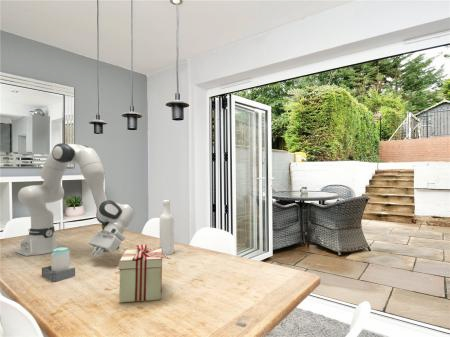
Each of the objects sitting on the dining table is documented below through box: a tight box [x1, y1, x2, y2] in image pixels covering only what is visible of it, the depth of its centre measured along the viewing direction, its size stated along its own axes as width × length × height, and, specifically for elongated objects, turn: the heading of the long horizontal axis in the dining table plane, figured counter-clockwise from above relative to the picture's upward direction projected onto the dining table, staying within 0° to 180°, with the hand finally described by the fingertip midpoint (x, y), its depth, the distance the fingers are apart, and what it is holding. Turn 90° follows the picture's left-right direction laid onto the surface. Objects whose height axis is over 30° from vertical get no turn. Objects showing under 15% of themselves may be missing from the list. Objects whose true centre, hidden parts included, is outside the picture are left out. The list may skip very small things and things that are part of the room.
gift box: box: [118, 243, 171, 303], centre depth 108 cm, size 17×18×17 cm
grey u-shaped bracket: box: [41, 265, 76, 283], centre depth 125 cm, size 9×12×4 cm
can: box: [50, 246, 71, 273], centre depth 125 cm, size 7×7×12 cm
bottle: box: [159, 199, 175, 256], centre depth 159 cm, size 8×8×30 cm
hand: (93, 255), depth 137 cm, fingers closed
